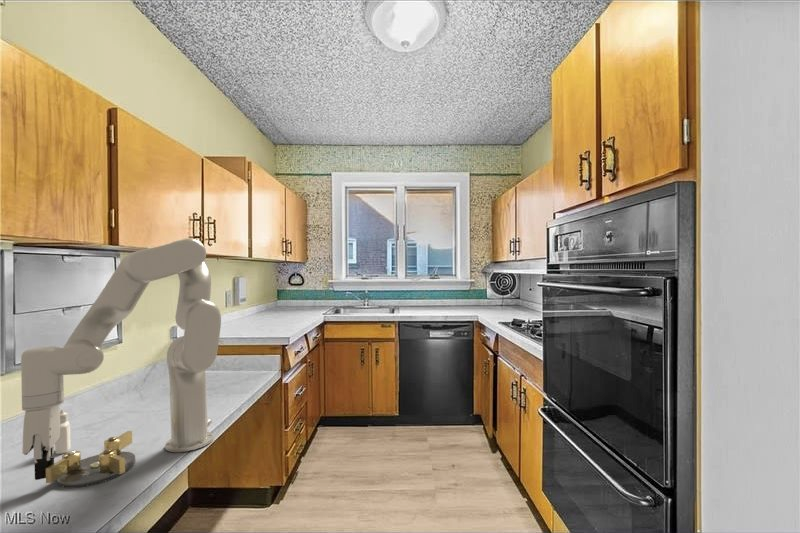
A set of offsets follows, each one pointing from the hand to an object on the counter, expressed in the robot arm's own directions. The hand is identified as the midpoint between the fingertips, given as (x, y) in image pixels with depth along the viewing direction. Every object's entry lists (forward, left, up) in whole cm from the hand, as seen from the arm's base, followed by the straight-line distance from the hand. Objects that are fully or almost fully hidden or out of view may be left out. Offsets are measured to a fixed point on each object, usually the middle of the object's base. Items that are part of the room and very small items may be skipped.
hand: (44, 476), depth 96 cm
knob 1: (-3, +2, -1) cm, 4 cm away
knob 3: (-4, +14, -1) cm, 14 cm away
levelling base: (-8, +7, -3) cm, 11 cm away
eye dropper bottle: (-21, -14, -3) cm, 26 cm away
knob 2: (-16, +7, -1) cm, 17 cm away
